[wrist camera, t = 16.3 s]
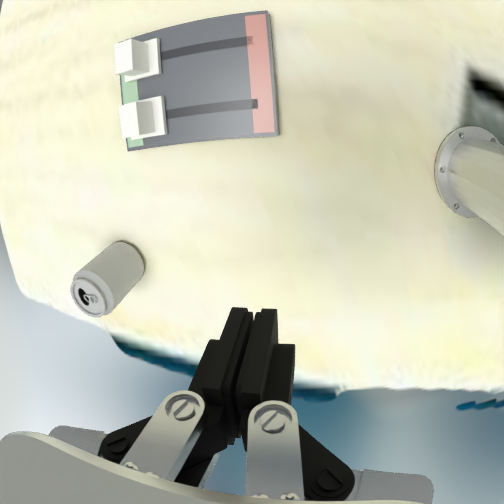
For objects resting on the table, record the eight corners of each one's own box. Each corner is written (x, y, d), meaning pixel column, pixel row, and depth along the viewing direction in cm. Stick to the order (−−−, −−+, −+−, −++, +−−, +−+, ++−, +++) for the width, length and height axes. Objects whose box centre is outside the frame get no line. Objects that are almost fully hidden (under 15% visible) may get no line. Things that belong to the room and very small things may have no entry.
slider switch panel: (269, 15, 28) (267, 10, 27) (279, 134, 35) (277, 136, 33) (125, 44, 32) (117, 42, 30) (135, 149, 39) (127, 151, 37)
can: (104, 240, 46) (59, 275, 36) (140, 238, 45) (97, 276, 34) (115, 279, 50) (77, 319, 39) (151, 280, 48) (115, 324, 38)
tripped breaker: (159, 38, 29) (140, 31, 25) (161, 73, 32) (142, 70, 27) (126, 48, 30) (105, 44, 26) (128, 82, 33) (107, 81, 28)
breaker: (163, 95, 33) (145, 95, 29) (167, 133, 35) (149, 137, 31) (130, 103, 34) (109, 104, 30) (134, 139, 36) (114, 144, 32)
